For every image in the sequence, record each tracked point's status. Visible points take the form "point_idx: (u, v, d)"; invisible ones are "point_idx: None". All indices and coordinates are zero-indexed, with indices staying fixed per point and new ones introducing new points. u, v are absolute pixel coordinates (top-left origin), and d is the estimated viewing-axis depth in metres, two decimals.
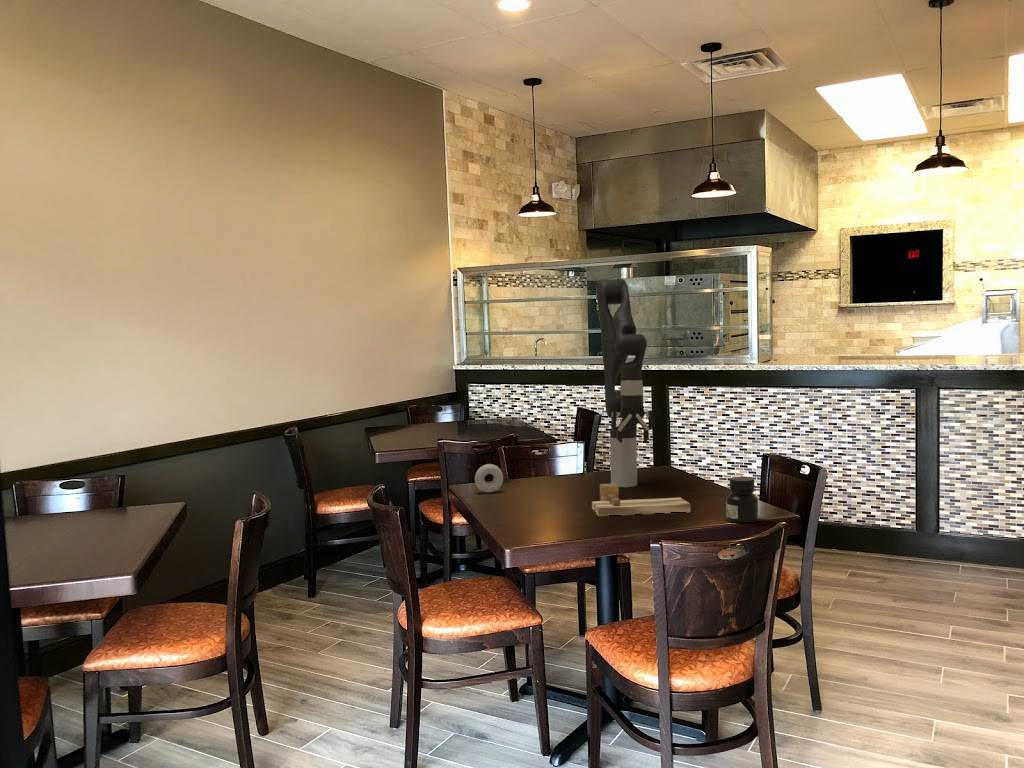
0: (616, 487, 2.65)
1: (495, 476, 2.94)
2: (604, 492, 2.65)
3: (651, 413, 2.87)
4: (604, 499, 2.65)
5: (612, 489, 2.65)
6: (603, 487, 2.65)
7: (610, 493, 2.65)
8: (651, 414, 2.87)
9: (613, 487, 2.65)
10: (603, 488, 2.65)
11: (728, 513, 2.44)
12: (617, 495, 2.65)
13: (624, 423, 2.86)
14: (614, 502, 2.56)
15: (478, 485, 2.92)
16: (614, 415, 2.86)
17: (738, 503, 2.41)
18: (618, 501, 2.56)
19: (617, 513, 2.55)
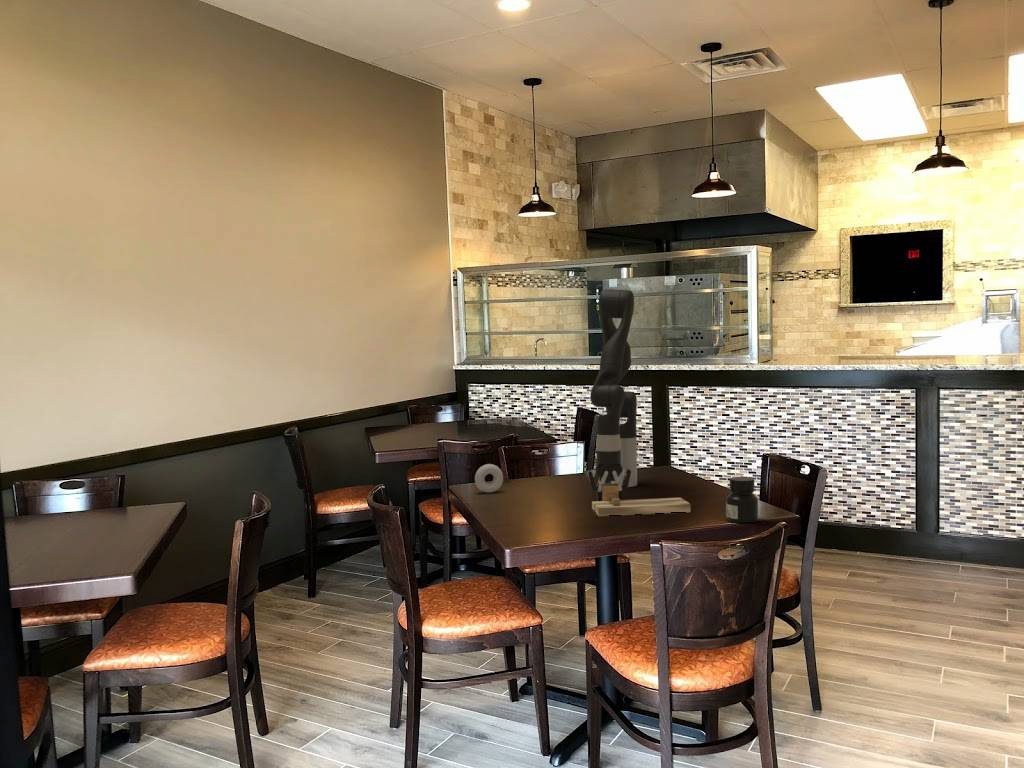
0: (616, 487, 2.65)
1: (495, 476, 2.94)
2: (604, 492, 2.65)
3: (629, 472, 2.66)
4: (604, 499, 2.65)
5: (613, 489, 2.65)
6: (603, 487, 2.64)
7: (610, 493, 2.65)
8: (628, 474, 2.66)
9: (613, 487, 2.65)
10: (603, 488, 2.64)
11: (728, 513, 2.44)
12: (617, 495, 2.65)
13: (602, 482, 2.65)
14: (614, 502, 2.56)
15: (478, 485, 2.92)
16: (590, 475, 2.65)
17: (738, 503, 2.41)
18: (618, 501, 2.56)
19: (617, 513, 2.55)
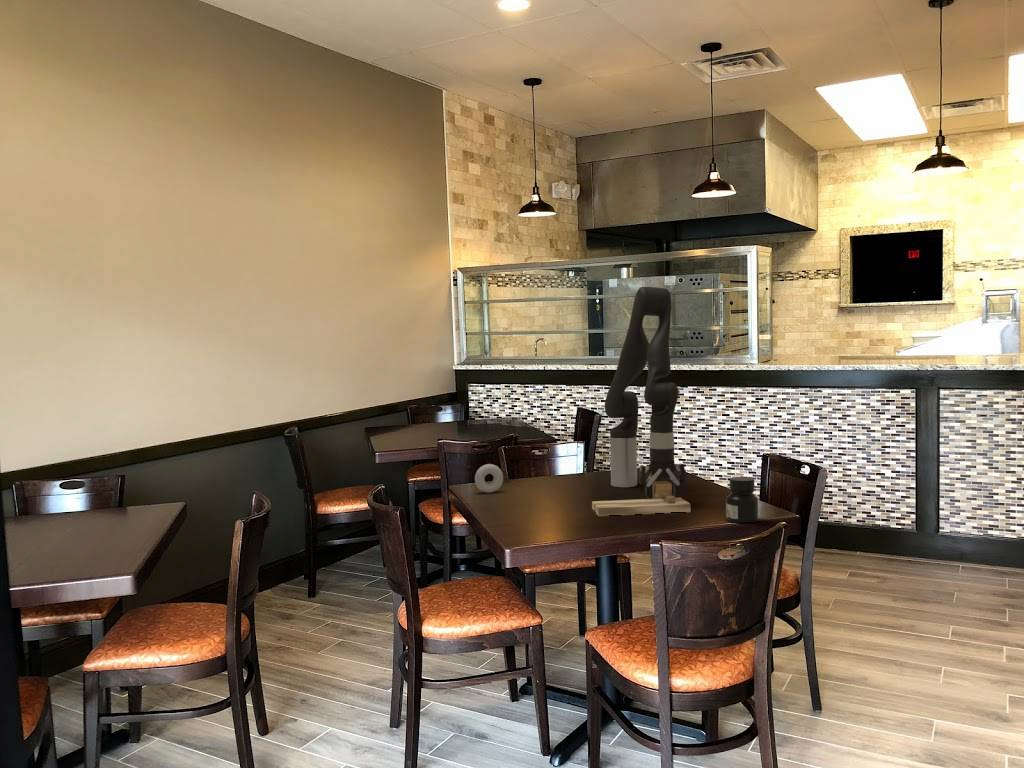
0: (669, 485, 2.67)
1: (495, 476, 2.94)
2: (657, 490, 2.66)
3: (682, 467, 2.68)
4: (657, 497, 2.66)
5: (666, 487, 2.66)
6: (656, 485, 2.66)
7: (663, 491, 2.66)
8: (682, 468, 2.68)
9: (666, 485, 2.66)
10: (657, 486, 2.66)
11: (728, 513, 2.44)
12: (670, 493, 2.67)
13: (653, 478, 2.66)
14: (669, 500, 2.58)
15: (478, 485, 2.92)
16: (643, 469, 2.66)
17: (738, 503, 2.41)
18: (673, 499, 2.58)
19: (617, 513, 2.55)
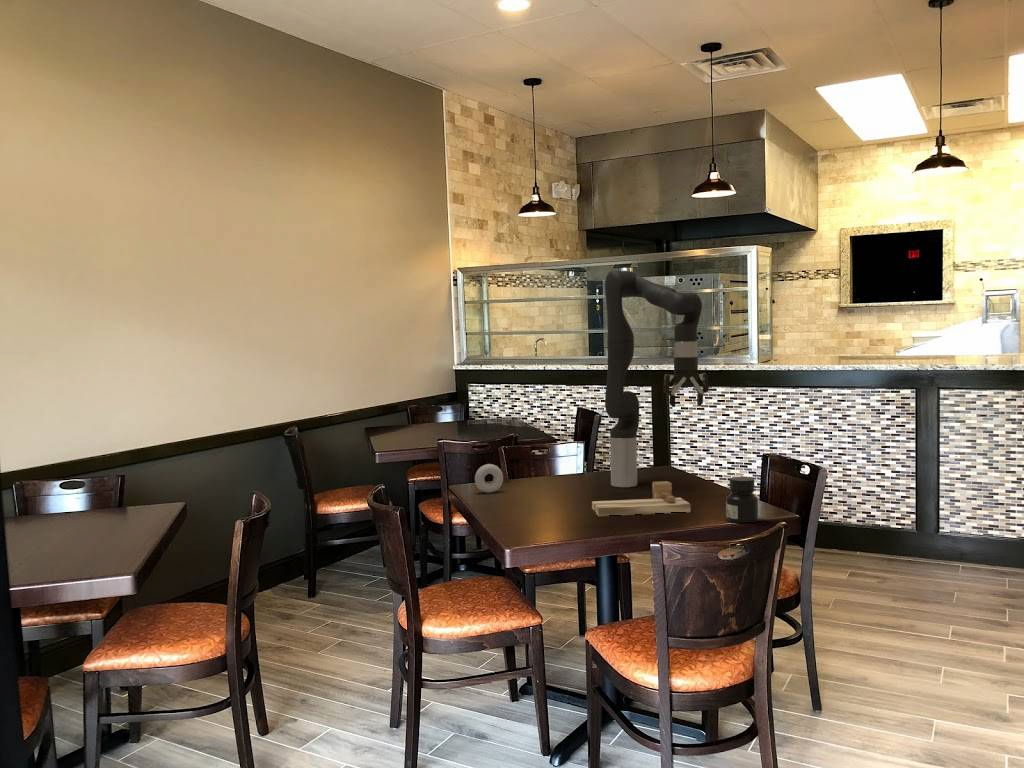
0: (669, 485, 2.67)
1: (495, 476, 2.94)
2: (657, 490, 2.66)
3: (706, 376, 2.73)
4: (657, 497, 2.66)
5: (666, 486, 2.66)
6: (656, 485, 2.66)
7: (663, 491, 2.66)
8: (706, 377, 2.73)
9: (666, 485, 2.66)
10: (657, 486, 2.66)
11: (728, 513, 2.44)
12: (670, 493, 2.67)
13: (678, 386, 2.72)
14: (669, 500, 2.58)
15: (478, 485, 2.92)
16: (667, 378, 2.72)
17: (738, 503, 2.41)
18: (673, 499, 2.58)
19: (617, 513, 2.55)
